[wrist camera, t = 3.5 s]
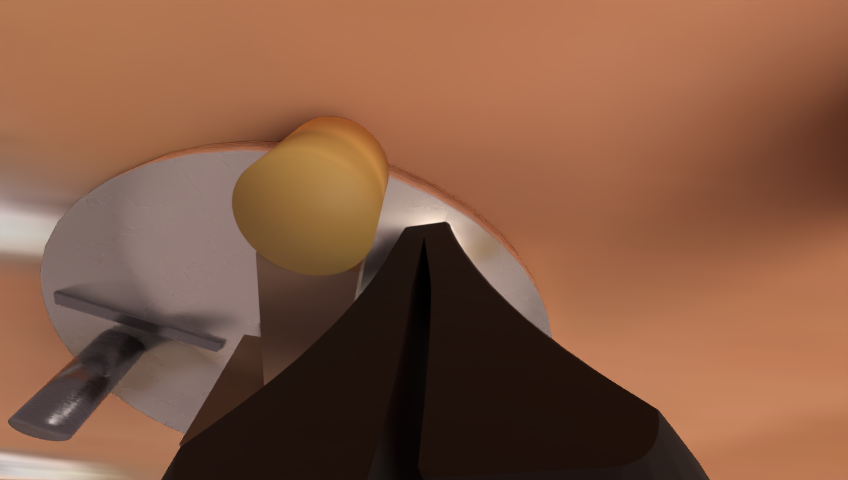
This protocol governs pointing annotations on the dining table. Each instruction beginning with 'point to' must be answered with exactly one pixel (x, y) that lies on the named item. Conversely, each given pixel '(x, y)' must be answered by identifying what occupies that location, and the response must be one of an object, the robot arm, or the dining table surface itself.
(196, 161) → the plate
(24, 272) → the dining table surface
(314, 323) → the knob-topped wooden stand
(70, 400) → the dowel
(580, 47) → the dining table surface
